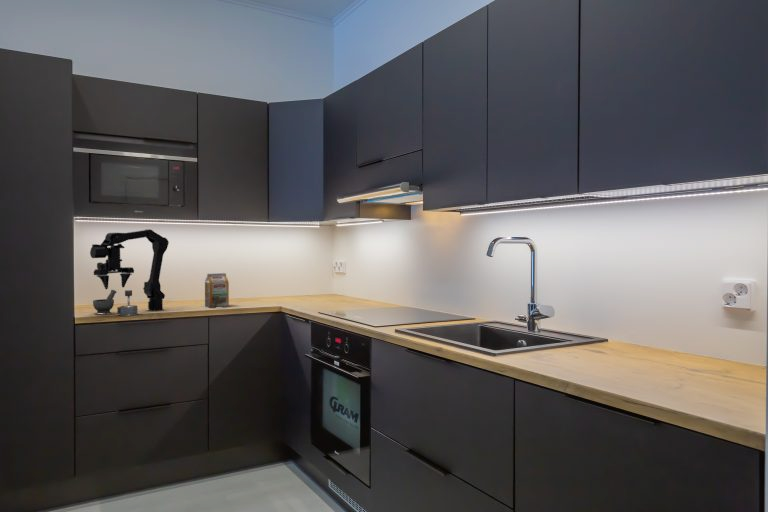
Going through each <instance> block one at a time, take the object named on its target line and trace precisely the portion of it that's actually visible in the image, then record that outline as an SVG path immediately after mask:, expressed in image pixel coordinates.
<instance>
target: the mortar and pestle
mask: <svg viewBox="0 0 768 512" xmlns="http://www.w3.org/2000/svg"><path fill="white" fill-rule="evenodd" d="M116 294H117V290H115V289H111V290H110V293H109V294H108V296H107V297H106V298H102V299H101V298H100V299H94V300H93V299H92V305H93V308H94V309H95V310H96V314H97V313H110V314H111V310H112V309H113V307H114V305H115V304H114V303H115V299H114V297H115V295H116Z"/></svg>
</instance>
